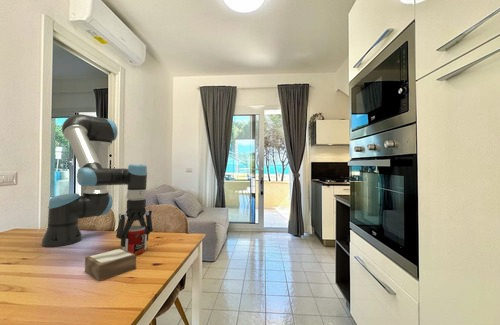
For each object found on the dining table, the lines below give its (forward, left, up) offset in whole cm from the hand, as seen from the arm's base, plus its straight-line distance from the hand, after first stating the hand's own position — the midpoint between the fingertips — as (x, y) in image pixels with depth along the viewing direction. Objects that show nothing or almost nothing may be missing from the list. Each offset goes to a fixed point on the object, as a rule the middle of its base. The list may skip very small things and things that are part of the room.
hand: (134, 251), depth 99 cm
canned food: (0, 0, -1) cm, 1 cm away
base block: (+10, -14, -1) cm, 17 cm away
